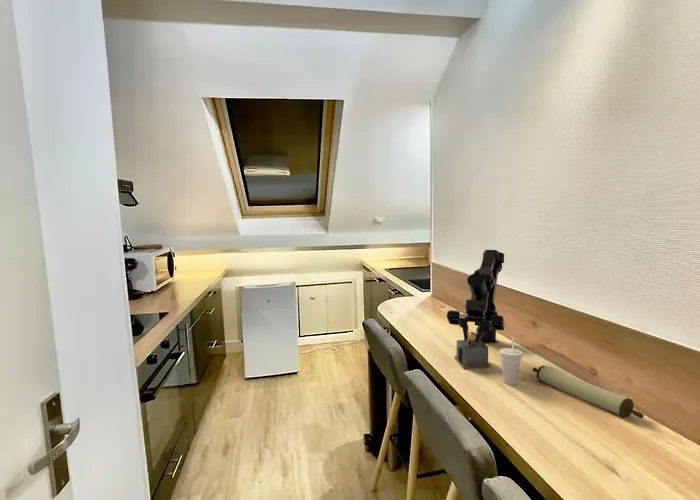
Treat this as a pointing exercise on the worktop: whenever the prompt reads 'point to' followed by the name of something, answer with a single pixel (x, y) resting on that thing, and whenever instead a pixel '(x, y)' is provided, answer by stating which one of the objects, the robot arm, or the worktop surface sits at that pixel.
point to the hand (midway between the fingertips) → (471, 341)
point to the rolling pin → (587, 391)
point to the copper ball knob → (472, 338)
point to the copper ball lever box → (472, 355)
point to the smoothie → (510, 364)
